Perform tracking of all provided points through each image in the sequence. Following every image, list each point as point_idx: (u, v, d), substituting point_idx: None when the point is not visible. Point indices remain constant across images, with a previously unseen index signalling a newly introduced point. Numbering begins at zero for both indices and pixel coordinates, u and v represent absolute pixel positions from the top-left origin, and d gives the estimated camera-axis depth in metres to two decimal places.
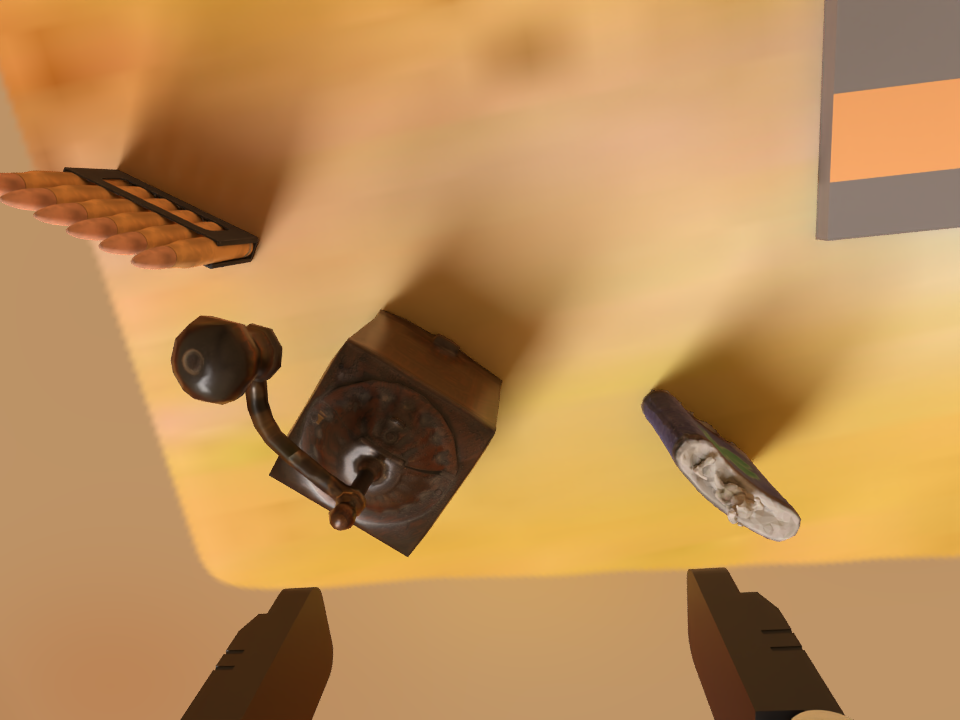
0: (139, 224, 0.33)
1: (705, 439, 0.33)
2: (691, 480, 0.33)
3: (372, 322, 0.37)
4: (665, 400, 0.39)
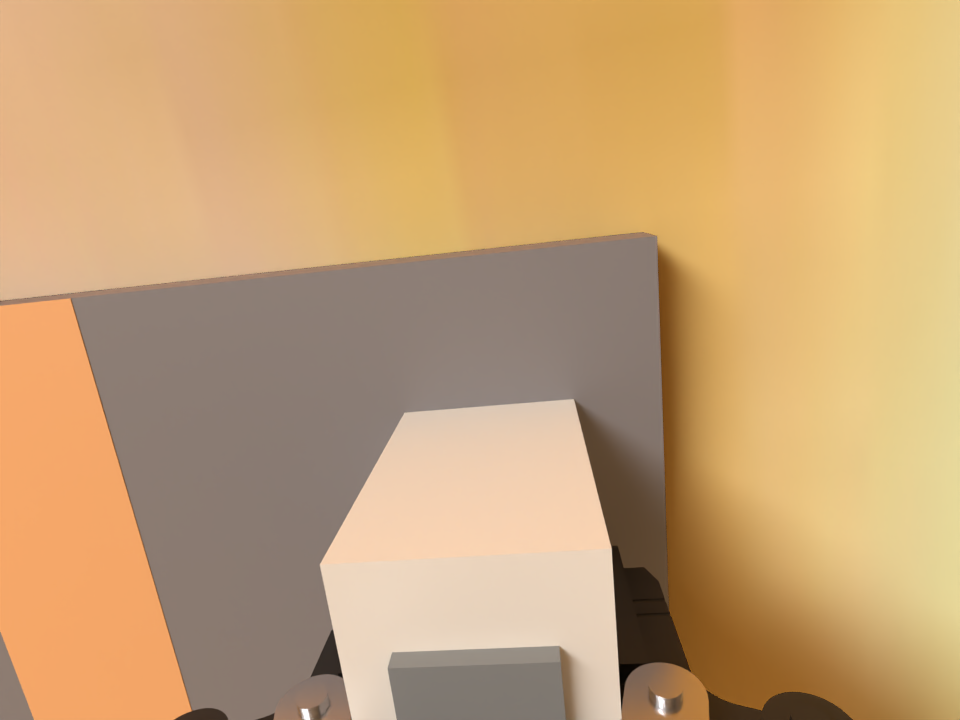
0: None
1: None
2: None
3: None
4: None
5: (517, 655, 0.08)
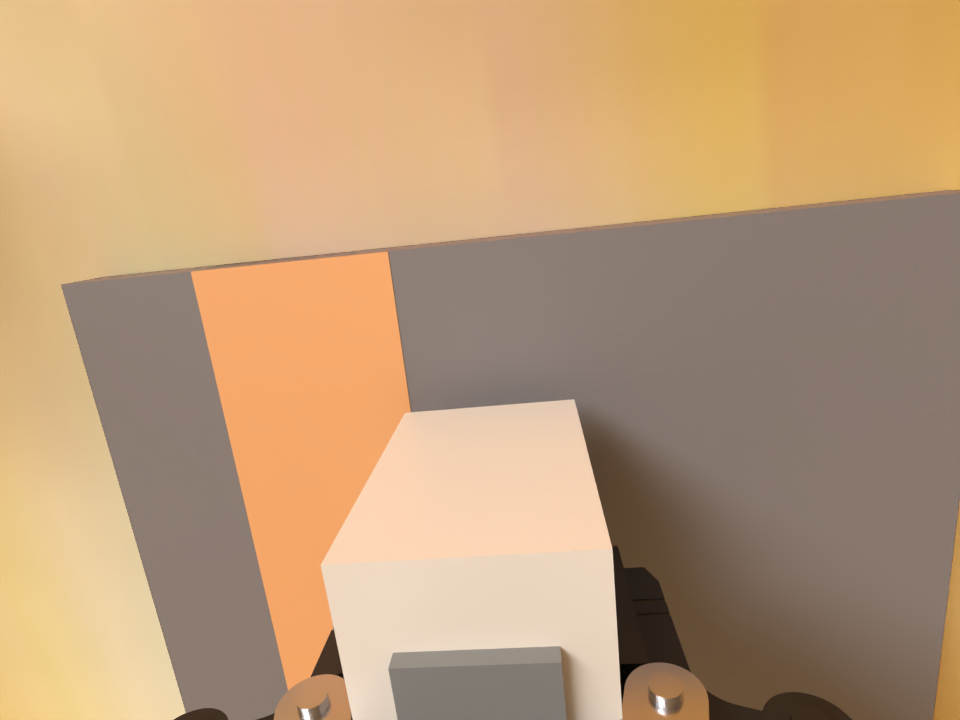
0: None
1: None
2: None
3: None
4: None
5: (518, 655, 0.08)
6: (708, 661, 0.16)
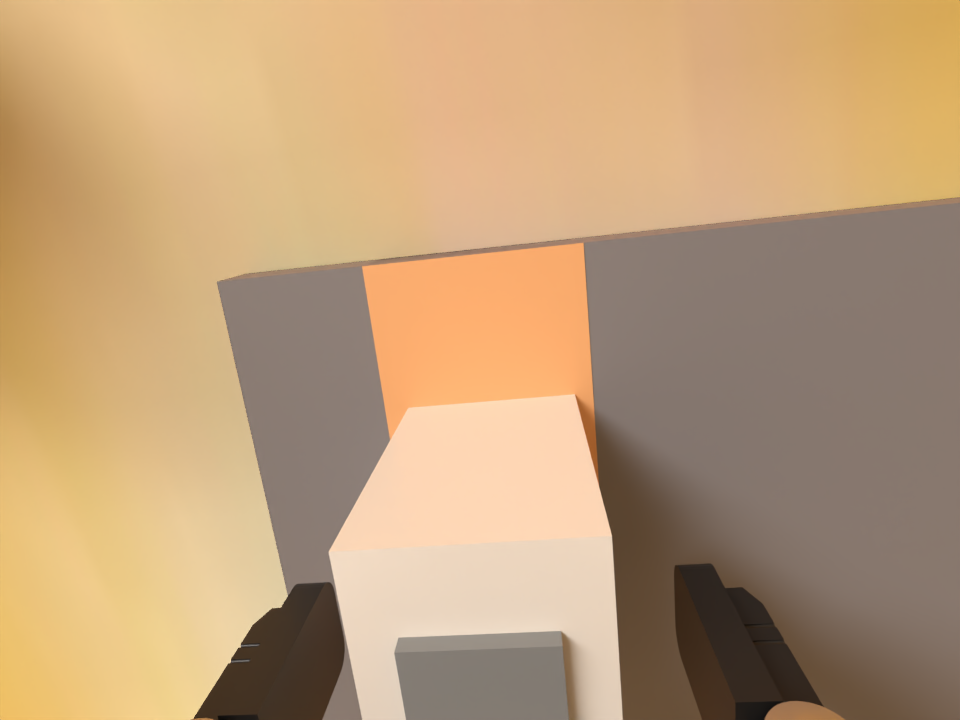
0: None
1: None
2: None
3: None
4: None
5: (520, 640, 0.08)
6: (900, 683, 0.15)
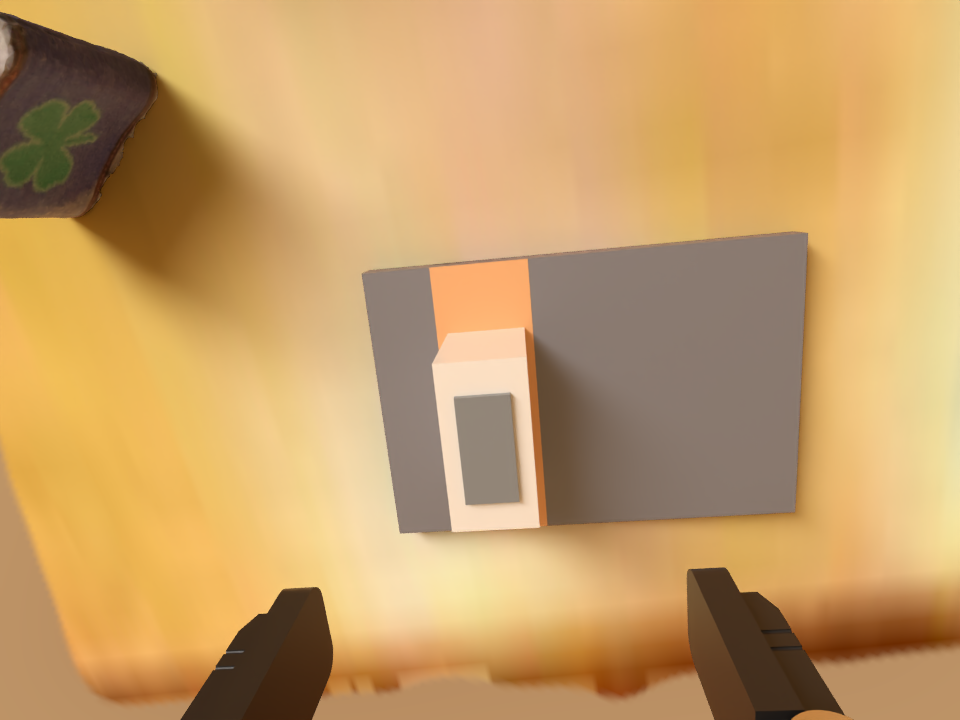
0: None
1: (17, 58, 0.21)
2: None
3: None
4: (129, 75, 0.27)
5: (496, 394, 0.25)
6: (680, 471, 0.32)
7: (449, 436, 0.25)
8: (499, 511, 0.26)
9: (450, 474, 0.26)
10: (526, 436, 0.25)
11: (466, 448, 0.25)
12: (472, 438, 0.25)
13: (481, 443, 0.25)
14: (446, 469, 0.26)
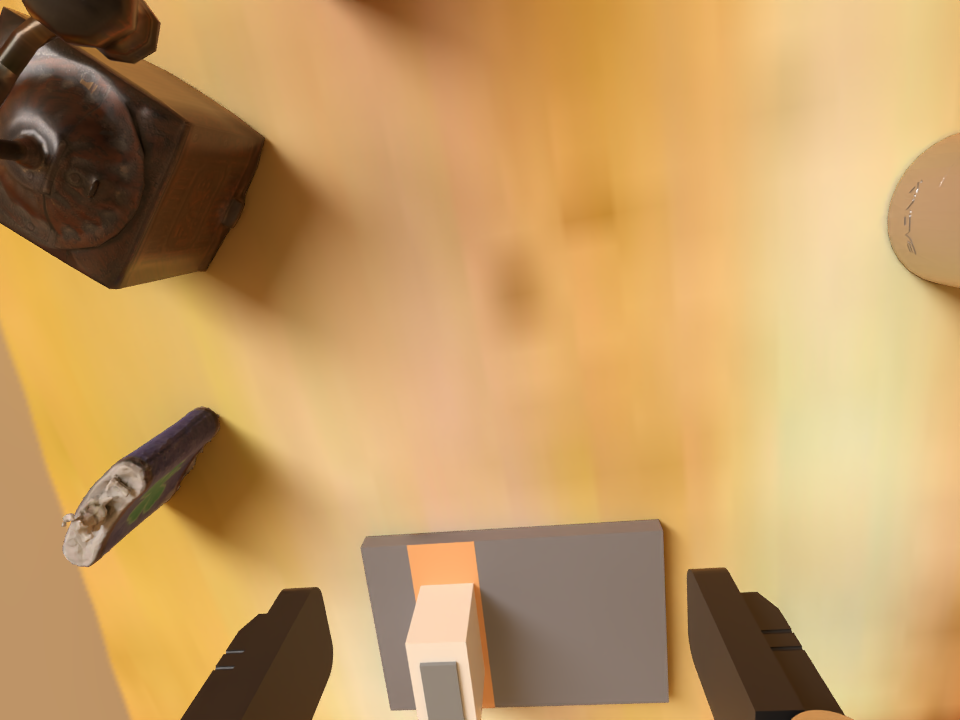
0: None
1: (147, 485, 0.35)
2: (104, 476, 0.35)
3: (235, 136, 0.34)
4: (203, 432, 0.41)
5: (447, 663, 0.38)
6: (586, 674, 0.45)
7: (418, 685, 0.39)
8: None
9: (419, 707, 0.39)
10: (467, 686, 0.39)
11: (428, 694, 0.39)
12: (432, 689, 0.39)
13: (438, 692, 0.39)
14: (416, 704, 0.39)
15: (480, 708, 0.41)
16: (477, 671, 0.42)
